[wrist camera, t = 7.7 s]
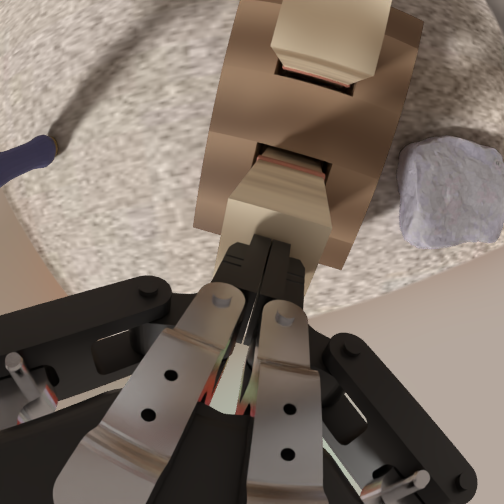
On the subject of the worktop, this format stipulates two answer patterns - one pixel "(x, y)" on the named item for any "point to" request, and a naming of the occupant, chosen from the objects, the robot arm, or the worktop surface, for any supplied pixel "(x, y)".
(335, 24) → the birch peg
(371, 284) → the worktop surface
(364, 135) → the wooden mortise block
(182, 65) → the worktop surface
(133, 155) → the worktop surface
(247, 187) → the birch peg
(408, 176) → the stone block
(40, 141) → the rubber mallet
